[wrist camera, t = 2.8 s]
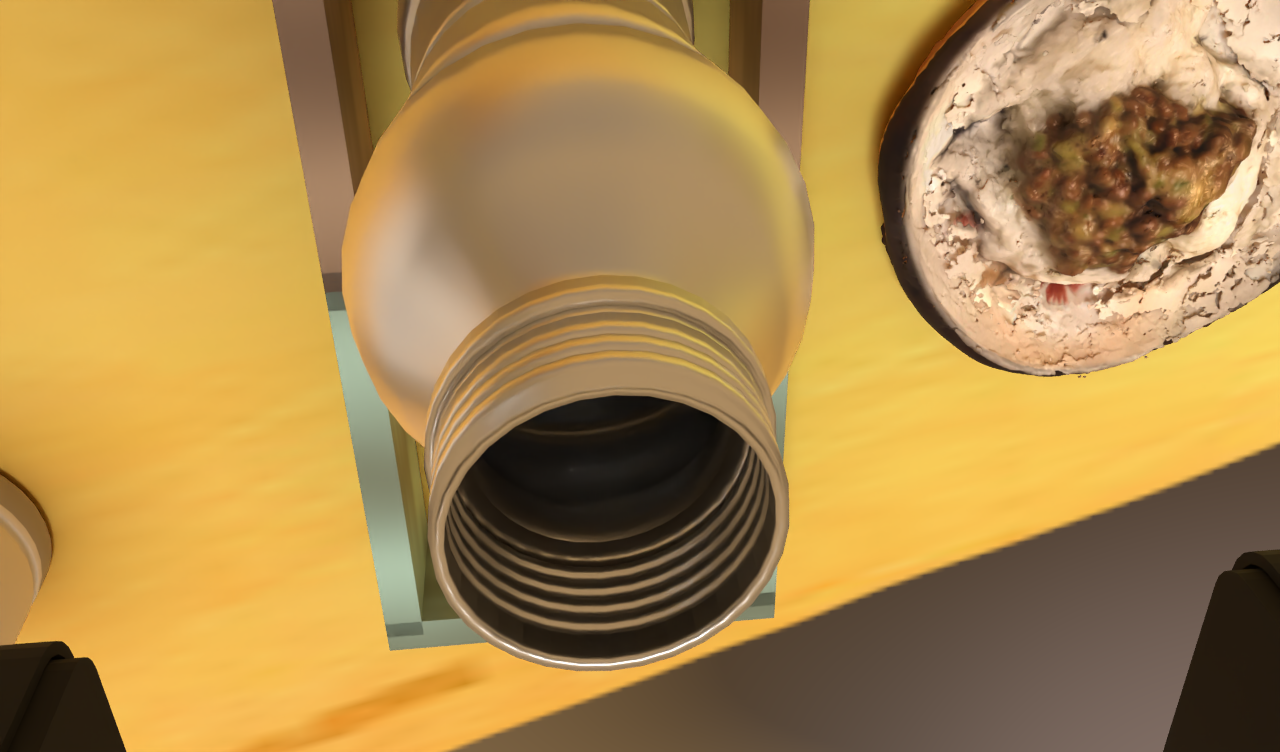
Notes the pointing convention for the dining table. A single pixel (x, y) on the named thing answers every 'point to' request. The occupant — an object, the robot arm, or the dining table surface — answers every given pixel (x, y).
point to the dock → (333, 168)
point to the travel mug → (20, 558)
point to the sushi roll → (1086, 177)
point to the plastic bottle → (583, 321)
